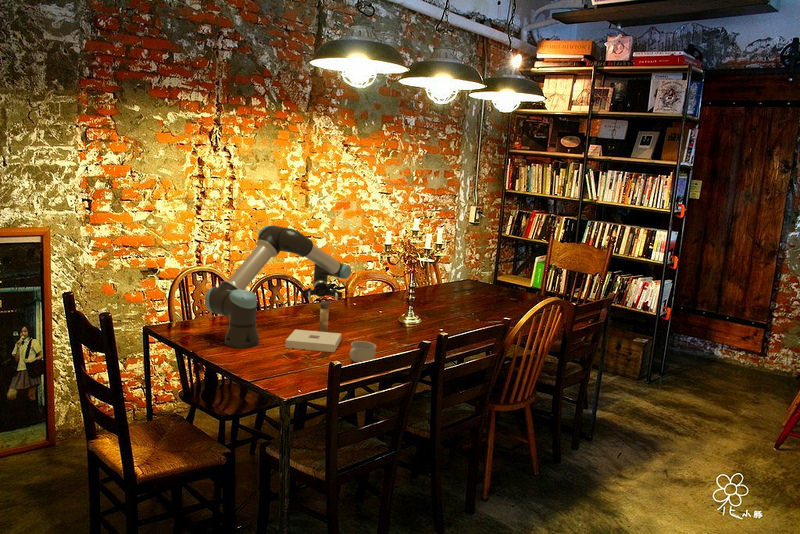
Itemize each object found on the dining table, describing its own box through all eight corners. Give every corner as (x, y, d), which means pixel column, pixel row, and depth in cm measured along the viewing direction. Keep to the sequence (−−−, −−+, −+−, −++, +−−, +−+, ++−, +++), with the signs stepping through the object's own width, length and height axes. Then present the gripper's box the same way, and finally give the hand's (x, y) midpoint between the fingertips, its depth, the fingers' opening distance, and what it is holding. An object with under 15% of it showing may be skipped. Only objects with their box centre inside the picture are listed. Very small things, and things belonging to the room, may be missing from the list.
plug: (318, 334, 302) (319, 302, 299) (320, 332, 306) (321, 300, 303) (326, 335, 302) (328, 303, 299) (328, 333, 306) (329, 301, 303)
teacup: (363, 356, 274) (364, 339, 273) (380, 363, 267) (381, 345, 266) (339, 362, 265) (340, 344, 263) (355, 369, 257) (356, 351, 256)
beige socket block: (285, 347, 279) (285, 340, 278) (294, 336, 296) (295, 329, 296) (334, 352, 277) (334, 344, 277) (340, 340, 295) (341, 333, 295)
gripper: (344, 296, 334) (347, 305, 314) (296, 294, 330) (297, 303, 309) (345, 282, 333) (348, 291, 312) (297, 280, 329) (298, 288, 308)
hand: (323, 297), depth 311 cm, fingers open, 13 cm apart
